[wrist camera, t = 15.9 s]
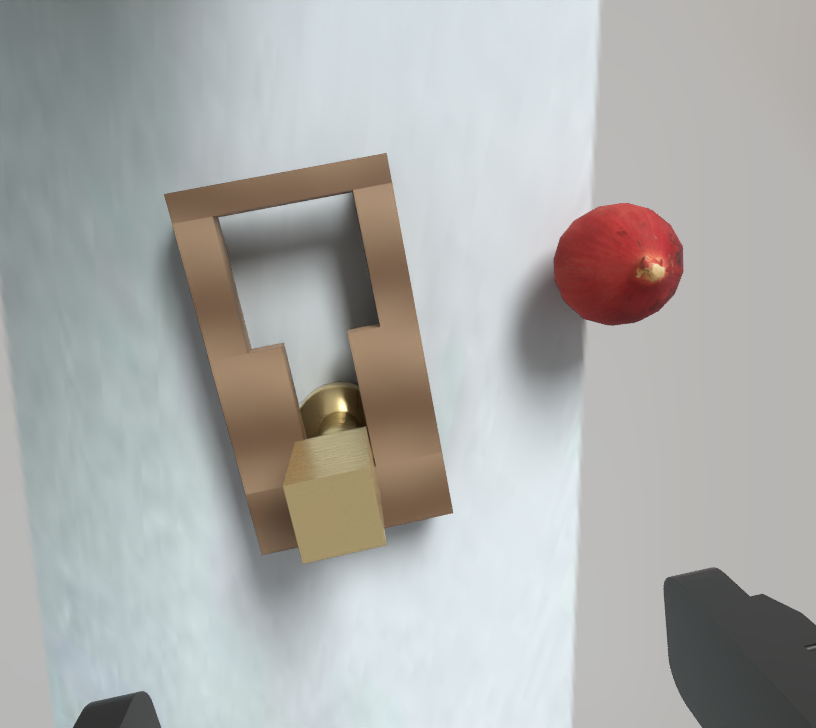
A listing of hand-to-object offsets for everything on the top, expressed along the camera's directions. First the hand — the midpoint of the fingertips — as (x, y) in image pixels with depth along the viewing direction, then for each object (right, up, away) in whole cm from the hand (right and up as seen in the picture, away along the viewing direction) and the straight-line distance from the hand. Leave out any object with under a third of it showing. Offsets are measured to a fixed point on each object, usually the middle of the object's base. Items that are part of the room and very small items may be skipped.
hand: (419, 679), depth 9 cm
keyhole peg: (-4, +1, +24) cm, 24 cm away
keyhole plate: (-5, +5, +23) cm, 24 cm away
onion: (+10, +10, +23) cm, 27 cm away
